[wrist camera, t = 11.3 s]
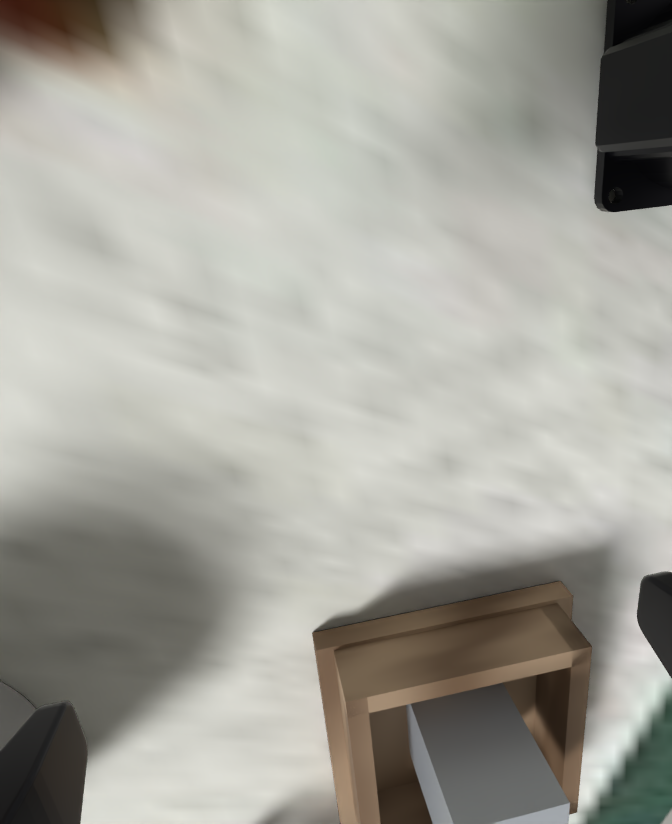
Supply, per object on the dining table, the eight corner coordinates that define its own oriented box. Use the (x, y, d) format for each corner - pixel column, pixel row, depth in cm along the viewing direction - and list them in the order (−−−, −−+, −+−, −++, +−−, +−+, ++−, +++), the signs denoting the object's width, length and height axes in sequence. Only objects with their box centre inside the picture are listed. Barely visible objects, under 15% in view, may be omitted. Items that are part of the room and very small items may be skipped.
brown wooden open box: (560, 581, 25) (654, 691, 20) (546, 807, 31) (616, 943, 25) (312, 632, 24) (338, 767, 18) (345, 860, 29) (373, 1015, 24)
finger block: (493, 666, 25) (569, 802, 19) (493, 740, 27) (563, 884, 21) (404, 687, 24) (456, 832, 19) (410, 760, 26) (459, 913, 21)
